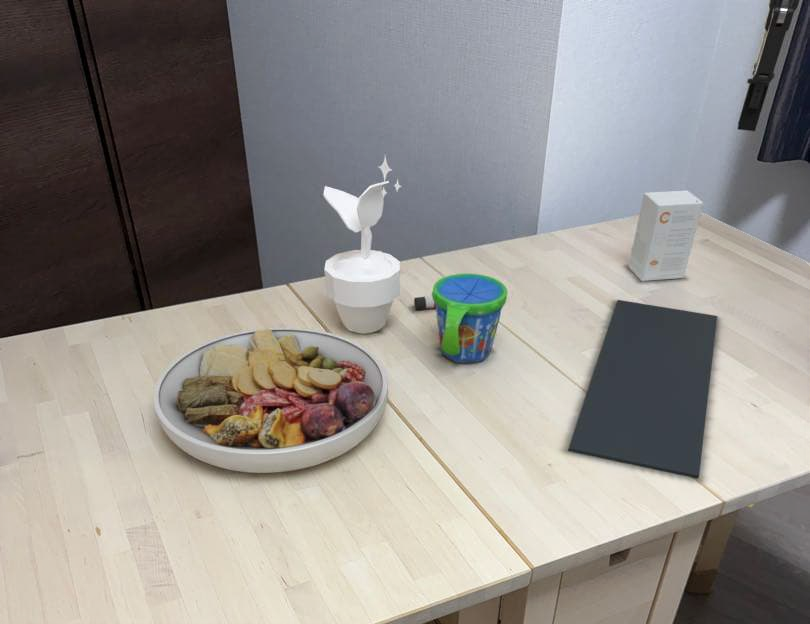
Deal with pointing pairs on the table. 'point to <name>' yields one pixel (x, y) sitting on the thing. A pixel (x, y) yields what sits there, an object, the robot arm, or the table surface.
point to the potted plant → (362, 262)
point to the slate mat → (649, 390)
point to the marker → (424, 302)
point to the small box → (665, 234)
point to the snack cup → (468, 315)
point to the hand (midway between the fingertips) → (746, 126)
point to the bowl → (271, 399)
